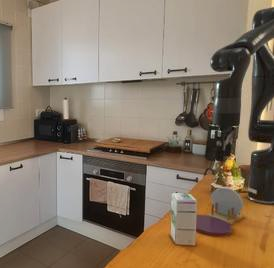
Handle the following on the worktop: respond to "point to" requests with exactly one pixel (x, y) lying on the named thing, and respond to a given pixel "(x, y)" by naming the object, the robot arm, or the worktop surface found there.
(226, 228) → the plum plate
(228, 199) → the plate
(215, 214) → the dish rack
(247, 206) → the worktop surface
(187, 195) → the syrup box
